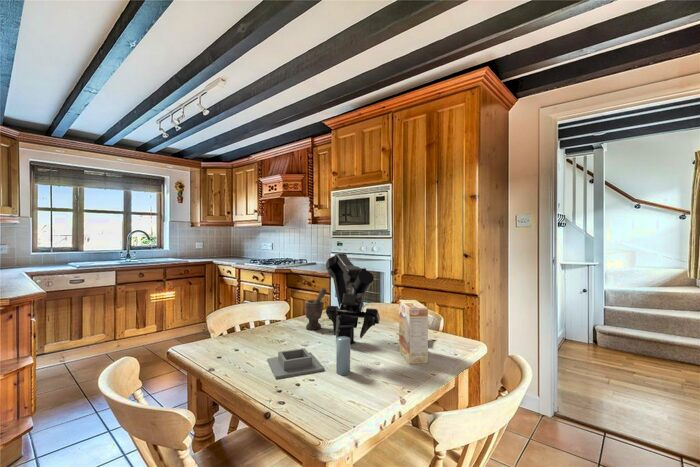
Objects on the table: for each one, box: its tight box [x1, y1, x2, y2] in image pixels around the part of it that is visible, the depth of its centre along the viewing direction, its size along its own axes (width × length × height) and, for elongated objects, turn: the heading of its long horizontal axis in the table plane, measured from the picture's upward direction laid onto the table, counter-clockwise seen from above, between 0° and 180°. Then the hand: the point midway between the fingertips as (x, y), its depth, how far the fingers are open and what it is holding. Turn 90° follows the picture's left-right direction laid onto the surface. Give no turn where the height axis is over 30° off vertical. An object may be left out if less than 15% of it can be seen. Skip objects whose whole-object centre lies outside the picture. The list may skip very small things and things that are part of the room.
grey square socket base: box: [266, 347, 325, 380], centre depth 110 cm, size 16×16×4 cm
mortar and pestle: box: [304, 287, 328, 331], centre depth 155 cm, size 12×9×20 cm
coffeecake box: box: [398, 299, 429, 365], centre depth 120 cm, size 15×7×20 cm, turn 5°
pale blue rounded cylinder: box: [335, 336, 351, 376], centre depth 105 cm, size 4×4×11 cm
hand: (347, 336), depth 109 cm, fingers open, 9 cm apart
